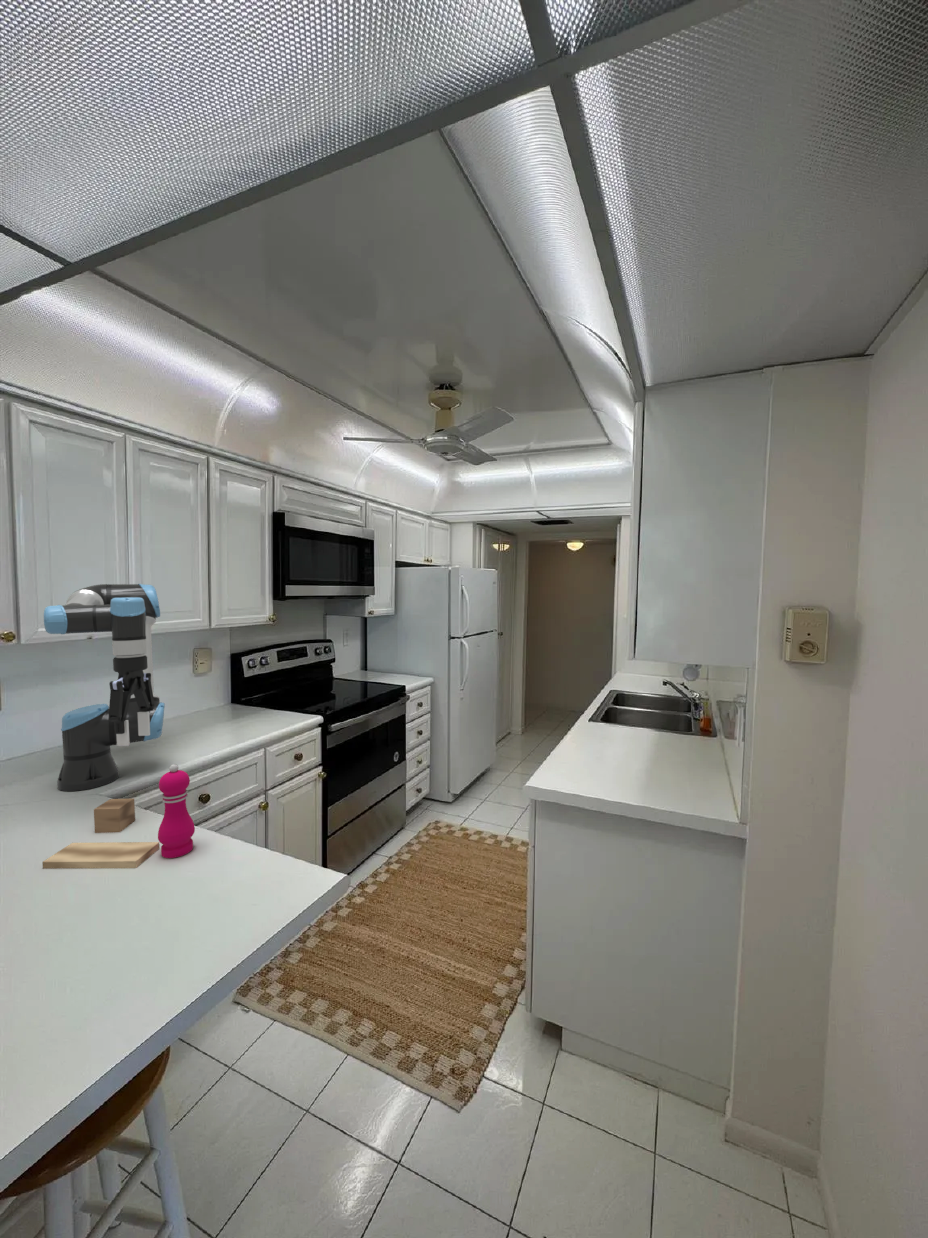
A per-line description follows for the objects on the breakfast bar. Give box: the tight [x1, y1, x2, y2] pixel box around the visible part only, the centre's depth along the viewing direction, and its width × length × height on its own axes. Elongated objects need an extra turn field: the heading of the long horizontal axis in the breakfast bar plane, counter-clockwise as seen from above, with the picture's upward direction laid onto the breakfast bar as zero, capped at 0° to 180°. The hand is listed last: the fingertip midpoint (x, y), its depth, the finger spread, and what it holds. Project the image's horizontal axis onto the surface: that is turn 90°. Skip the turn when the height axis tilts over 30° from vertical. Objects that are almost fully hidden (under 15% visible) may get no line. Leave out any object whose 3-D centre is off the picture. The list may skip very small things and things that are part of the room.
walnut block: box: [93, 797, 136, 834], centre depth 124 cm, size 6×6×6 cm
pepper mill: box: [157, 764, 196, 859], centre depth 111 cm, size 7×7×20 cm
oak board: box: [42, 841, 160, 870], centre depth 109 cm, size 8×20×2 cm, turn 90°
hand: (134, 740), depth 132 cm, fingers open, 8 cm apart
